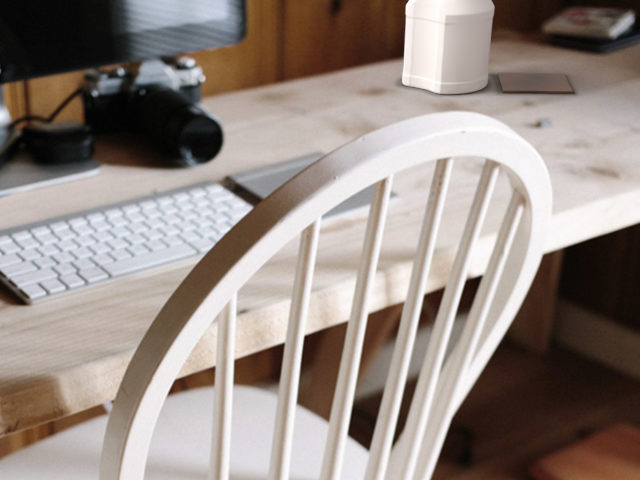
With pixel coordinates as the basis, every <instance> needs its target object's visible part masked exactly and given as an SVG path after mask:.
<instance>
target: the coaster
mask: <svg viewBox="0 0 640 480" xmlns="http://www.w3.org/2000/svg"><path fill="white" fill-rule="evenodd" d="M496 76H497V79H498V81H499V84H500V87H501V91H502V93H503V94H574V90H573V89H572V86H571V85H570V83H569V81H568V79H567V77H566V75H565V73H539V72H538V73H536V72H535V73H533V72H532V73H531V72H530V73H529V72H528V73H525V72H524V73H523V72H521V73H519V72H518V73H517V72H498V73H497V75H496Z"/></svg>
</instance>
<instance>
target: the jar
mask: <svg viewBox="0 0 640 480" xmlns="http://www.w3.org/2000/svg"><path fill="white" fill-rule="evenodd" d="M495 9H496V8H495V5H494V2H493V1H492V0H408V2H407V3H406V4H405V27H404V28H405V30H404V51H403V69H402V74H401V83H402V84H403V86H406V87H409V88H416V89H421V90H426V91H429V92H432V93H434V94H438V95H461V94H462V95H463V94H470V93H474V92H475V93H476V92H478V91H481V90H483V89H484V88H486V87H487V86H488V83H489V82H488V81H489V61H490V50H491V40H492V30H493V20H494V16H495Z"/></svg>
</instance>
